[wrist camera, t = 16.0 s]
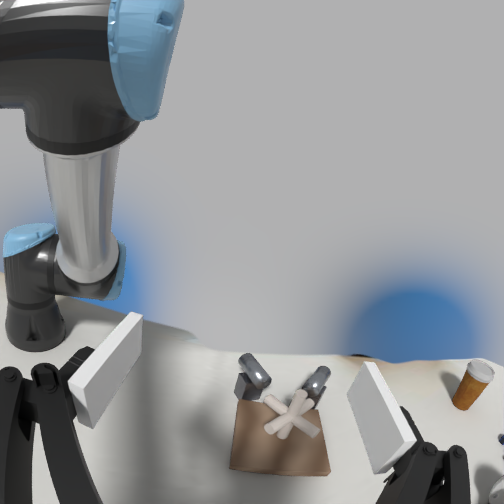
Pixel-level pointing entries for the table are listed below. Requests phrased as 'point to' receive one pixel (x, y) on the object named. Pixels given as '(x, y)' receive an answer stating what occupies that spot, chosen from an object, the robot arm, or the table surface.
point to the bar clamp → (502, 440)
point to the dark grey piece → (317, 384)
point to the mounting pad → (276, 444)
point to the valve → (497, 492)
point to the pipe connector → (291, 415)
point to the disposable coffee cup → (472, 384)
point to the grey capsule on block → (251, 379)
